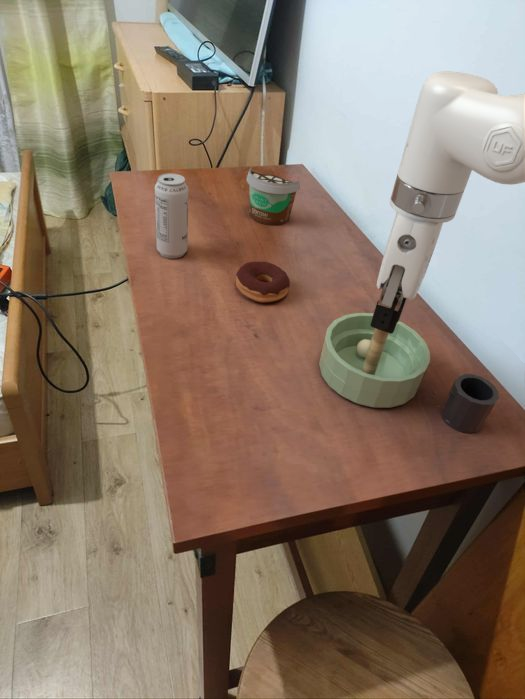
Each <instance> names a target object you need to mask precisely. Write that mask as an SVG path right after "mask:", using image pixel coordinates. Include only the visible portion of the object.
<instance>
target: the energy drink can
mask: <svg viewBox="0 0 525 699" xmlns="http://www.w3.org/2000/svg"><path fill="white" fill-rule="evenodd" d="M154 207H155V208H154V209H155V212H154V213H155V238H156V249H157V251H158V252H159V254H160V255H161V256H162V257H163V258H166V259H179V258H182V257H183V256H184V255H185V254H186V252H187V251H188V249H189V246H188V244H189V186H188V185H187V183H186V178H185V177H184V176H183V175H181V174H178V173H170V172H169V173H168V172H167V173H163V174H160V175H158V176H157V181H156V183H155V185H154Z"/></svg>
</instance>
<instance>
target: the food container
mask: <svg viewBox="0 0 525 699" xmlns="http://www.w3.org/2000/svg"><path fill="white" fill-rule="evenodd" d="M246 183H247V184H248V185H249V216H250V218H251V219H252V220H253V221H254V222H256V223H259V224H261V225H266V226H280V225H284V224H286V223H287V222H289V221H290V217H291V213H292V210H293V206H294V202H295V198H296V195H297V192H298V191H299V190H301V182H300V179H297V180H295V181H290V180H288V179H284V178H282V177H281V176H277V175H274V174H264V173H260V172H255V171H253V166H251V167H250V168H249V170H248V172H247V175H246Z"/></svg>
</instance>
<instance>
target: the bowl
mask: <svg viewBox="0 0 525 699" xmlns="http://www.w3.org/2000/svg"><path fill="white" fill-rule="evenodd" d="M373 314H374V312H355V313H349V314H344V315H342V316H340V317H338V318H336V319H334V320H333V321H332V322H331V324H330V325H329V326H327V328H326V333H325V336H324V341H323V345H322V349H321V353H320V357H319V362H318V367H319V370H320V374H321V376H322V378H323V379H324V381H325V382H326V384H327V385H328V387H330V388H331V389H332V390H333V391H335V392H336V393H337V394H338V395H339V396H341V397H342V398H345V399H347V400H348V401H351V402H353V403H355V404H357V405H362V406H365V407H369V408H388V409H389V408H394V407H398V406H401V405H405V404H406V403H407V402H409V401H410V400H411V399H413V398H414V397H415V396H416V394H417V392H418V390H419V389H420V386H421V384H422V382H423V379H424V377H425V375H426V373H427V370H428V368H429V366H430V363H431V351H430V348H429V347H428V344H427V342H426V341H425V340H424V339H423V337H422V336H421V335H420V334H419V333H418V332H417V331H416V330H415V329H413V328H412V327H411V326H408V325H407V324H405V323H404V322H402V321H400V320H399V321H398V322H397V324H396V327H395V330H394V332H393V333H392V334H390V333H389V334H388V337H387V340H386V343H385V346H384V349H383V352H382V355H381V358H380V361H379V364H378V367H377V370H376V373H375V375H371V374H367V373H365V372H363V371H362V368H363V365H364V362H365V359H366V358H363V357H361V356H359V355H358V353H357V350H356V348H357V344H358V343H359V342H360V341H361V340H364V339H368V340H371V339H372V336H373V333H374V330H375V328H373V327H371V321H372V318H373Z"/></svg>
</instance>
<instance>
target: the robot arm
mask: <svg viewBox="0 0 525 699" xmlns="http://www.w3.org/2000/svg"><path fill="white" fill-rule="evenodd" d="M401 155H402V156H401V158H400V159H401V160H400V162H399V166H398V170H397V174H396V177H395V181H394V185H393V189H392V191H391V196H390V198H389V206H390V207H391V208H392V209H393V210H394V211H395V212H396V214H395V216H394V220H393V223H392V226H391V229H390V233H389V236H388V240H387V243H386V246H385V249H384V255H383V257H382V261H381V264H380V268H379V272H378V276H377V280H376V287H377V289H378V291H380V290H381V292H380V296H379V298H378V300H377V302H376V304H375V308H374V312H373V313H374V314H373V318H372V321H371V327H373V328H376V329H379V330H382V331H384V332H387V333H390V334H392V333H393V332H394V330H395V327H396V324H397V322H398V321H400V319H401V315H402V312H403V310H404V307H405V304H406V301H407V300H408V301H412V300H414V299H415V298H416V296H417V294H418V292H419V290H420V287H421V285H422V283H423V281H424V278H425V276H426V273H427V271H428V267H429V266H430V262H431V259H432V257H433V254H434V251H435V248H436V245H437V243H438V240H439V237H440V234H441V231H442V227H443V225H444V223H448V222H450V221H452V220H453V219H455V217H456V214H457V211H458V209H459V207H460V203H461V200H462V198H463V196H464V192H465V189H466V187H467V185H468V182H469V180H470V177H471V174H472V171H473V172H474V173H476V174H478V175H480V176H481V177H483V178H485V179H487V180H489V181H492V182H493V183H496V184H502V185H511V186H512V185H519V184H523V183H525V92H523V93H519V94H512V95H511V94H510V95H502V94H499V92H498V88H497V87H496V84H494V83H493V82H492V81H490V80H489V79H486V78H484V77H481V76H479V75H474V74H471V73H467V72H466V73H465V72H460V71H446V70H445V71H439V72H434V73H432V74H430V75H429V76H427V78H426V79H425V80H424V82H423V84H422V85H421V89H420V92H419V95H418V98H417V102H416V106H415V108H414V112H413V116H412V120H411V123H410V127H409V130H408V134H407V136H406V142H405V145H404V148H403V153H402V154H401ZM396 294H397V295H399V297H398V298H397V297H395V296H396Z"/></svg>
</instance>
